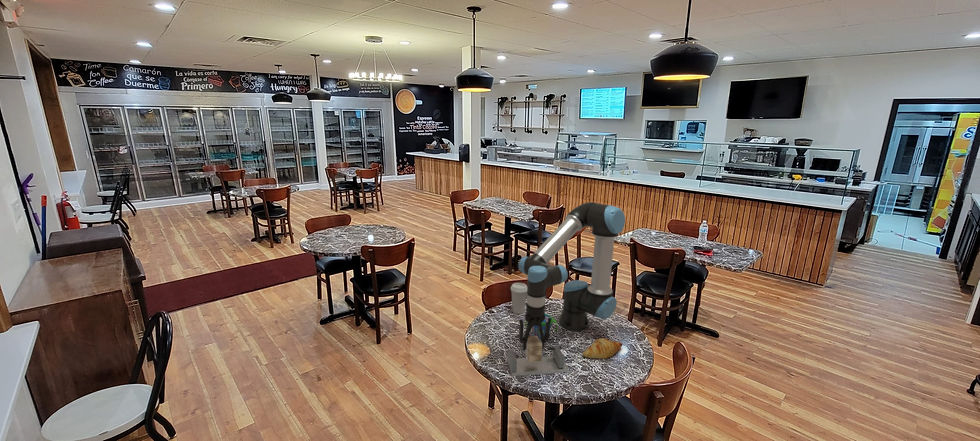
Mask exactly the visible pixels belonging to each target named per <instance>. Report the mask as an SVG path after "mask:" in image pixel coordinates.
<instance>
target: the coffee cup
mask: <svg viewBox="0 0 980 441" xmlns="http://www.w3.org/2000/svg"><path fill="white" fill-rule="evenodd" d="M510 292H511V306H512V307H511V308H512V312H513V313H514V314H517V315H522V314H524V313H525V312H526V304H527V283H523V282H514V283H512V284H511V286H510ZM521 313H522V314H521Z"/></svg>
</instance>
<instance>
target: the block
mask: <svg viewBox="0 0 980 441" xmlns="http://www.w3.org/2000/svg"><path fill="white" fill-rule="evenodd" d="M527 341H528V343H529V346H528V357H527V358H528V360H529V362H534V361H541V358H542V357H543V352H542V351H543V348H542V344H541V342H540V340H539V338H538V336H533V335H529V337H528V340H527Z"/></svg>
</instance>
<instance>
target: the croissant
mask: <svg viewBox="0 0 980 441" xmlns="http://www.w3.org/2000/svg"><path fill="white" fill-rule="evenodd" d="M590 345H591V346H589V347H587V348H586V350H584V351H583V352H582V356H583V357H584V358H585V357H586V358H588V359H589V358H590V359H607V358H610V357H613V356H614V355H615V354H616V353H617V352H618V351H620V350H621V349H622V346H623V343H622V342H621V341H614V340H610V339H607V338H597V339H595V341H594V342H592V343H591V344H590Z"/></svg>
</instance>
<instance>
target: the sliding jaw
mask: <svg viewBox="0 0 980 441" xmlns="http://www.w3.org/2000/svg"><path fill="white" fill-rule="evenodd" d="M546 350H547V351H552V356H553V357H554V359H555V361H556V363H557V365H558V367H559V368H564V361H565V356H564V354H563V351H562V346H559V345H553V346H551V347H549V346H548V347H547V348H546Z"/></svg>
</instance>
